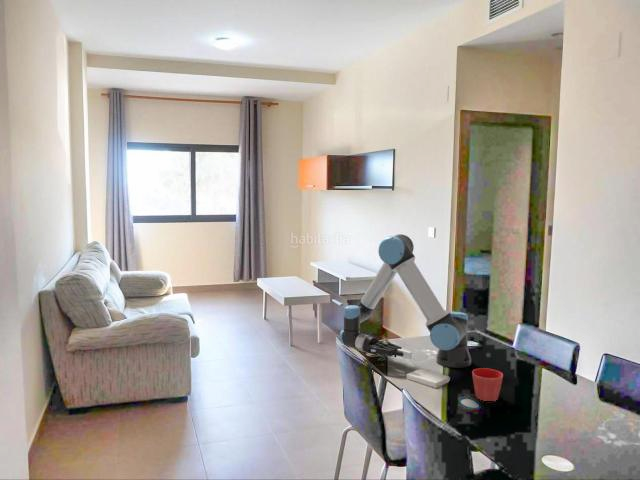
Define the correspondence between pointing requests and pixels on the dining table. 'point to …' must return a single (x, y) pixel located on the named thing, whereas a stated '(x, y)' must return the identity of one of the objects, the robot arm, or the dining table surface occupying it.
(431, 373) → the tile
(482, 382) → the flower pot
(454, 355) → the robot arm
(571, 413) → the dining table surface
